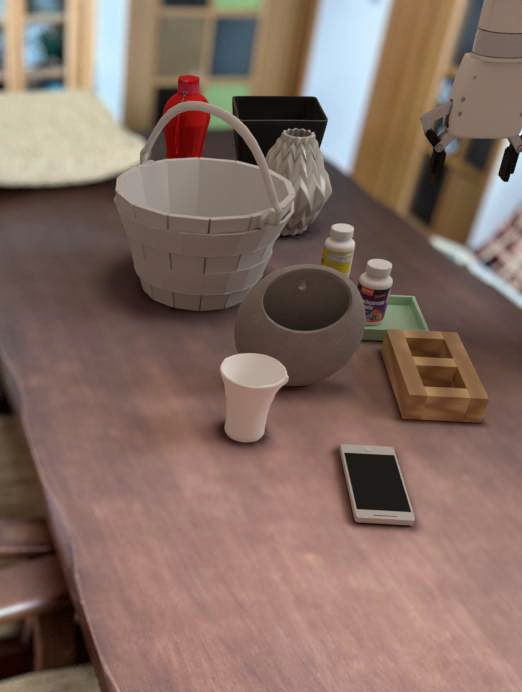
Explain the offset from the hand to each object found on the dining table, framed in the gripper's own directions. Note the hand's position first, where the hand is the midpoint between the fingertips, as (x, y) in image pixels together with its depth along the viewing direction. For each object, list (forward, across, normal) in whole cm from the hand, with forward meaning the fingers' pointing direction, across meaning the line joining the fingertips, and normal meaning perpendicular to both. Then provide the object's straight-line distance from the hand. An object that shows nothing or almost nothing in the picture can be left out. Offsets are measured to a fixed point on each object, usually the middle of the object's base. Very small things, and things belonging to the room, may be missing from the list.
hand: (468, 178), depth 120 cm
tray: (+25, +10, -3) cm, 27 cm away
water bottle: (+24, +43, -54) cm, 73 cm away
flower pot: (+24, +23, -68) cm, 76 cm away
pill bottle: (+24, +10, -3) cm, 26 cm away
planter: (+24, +24, +19) cm, 39 cm away
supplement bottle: (+25, +14, -19) cm, 34 cm away
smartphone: (+24, +15, +43) cm, 52 cm away
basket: (+24, +39, -14) cm, 48 cm away
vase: (+24, +21, -43) cm, 54 cm away
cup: (+24, +31, +32) cm, 51 cm away
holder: (+25, +4, +17) cm, 30 cm away
